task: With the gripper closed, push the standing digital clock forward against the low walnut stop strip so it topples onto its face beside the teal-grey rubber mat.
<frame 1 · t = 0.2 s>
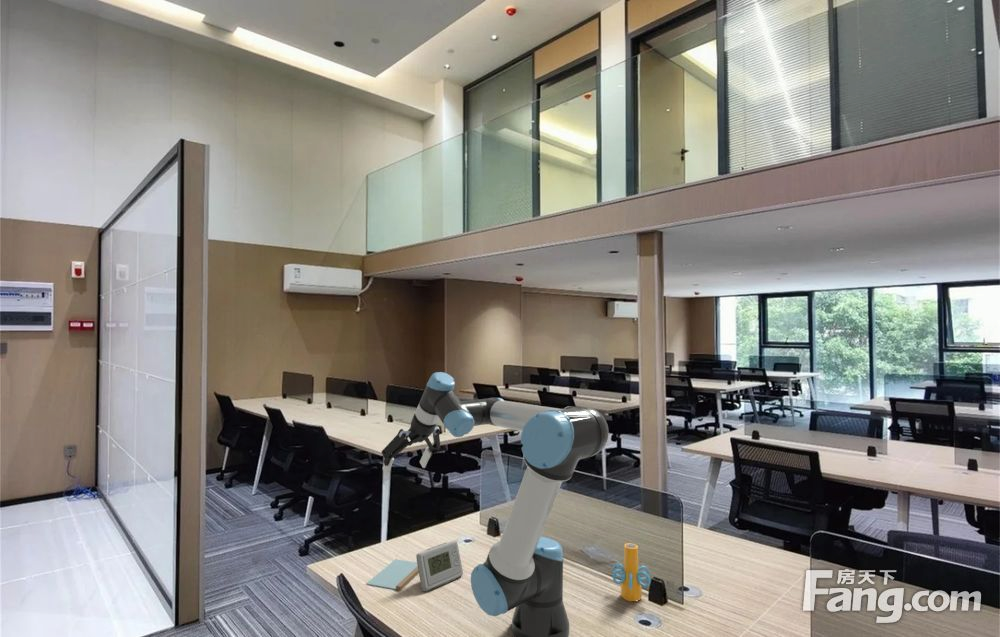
hand: (404, 468, 156), 35 cm above the table, tool tilted 35°, fingers open, 13 cm apart
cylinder: (631, 597, 146), on the table
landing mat: (397, 574, 159), on the table
digital clock: (439, 582, 154), on the table
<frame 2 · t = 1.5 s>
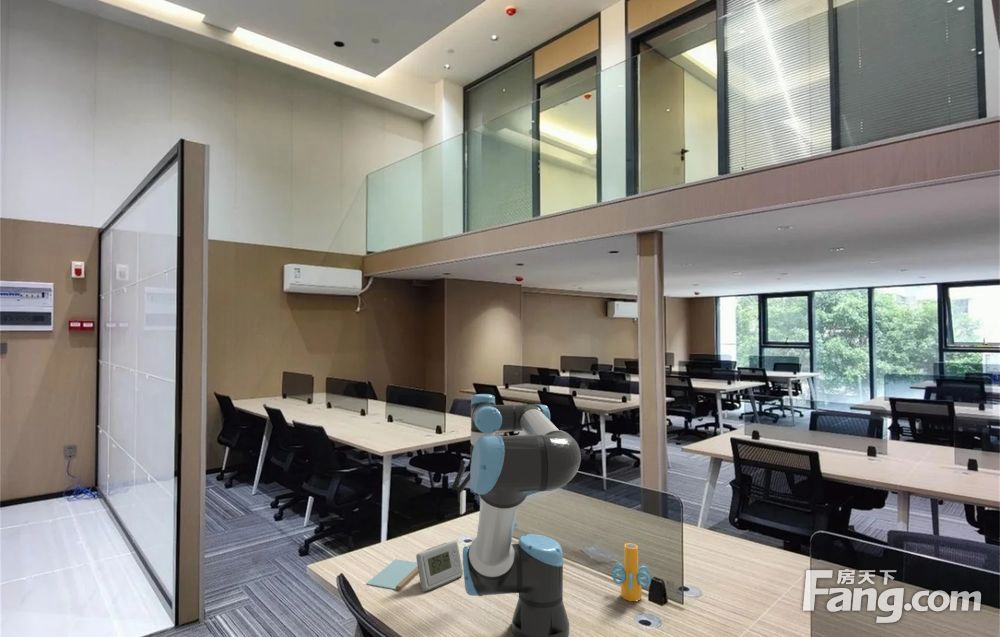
hand: (481, 515, 151), 22 cm above the table, tool pointing down, fingers open, 12 cm apart
nothing on the table moved.
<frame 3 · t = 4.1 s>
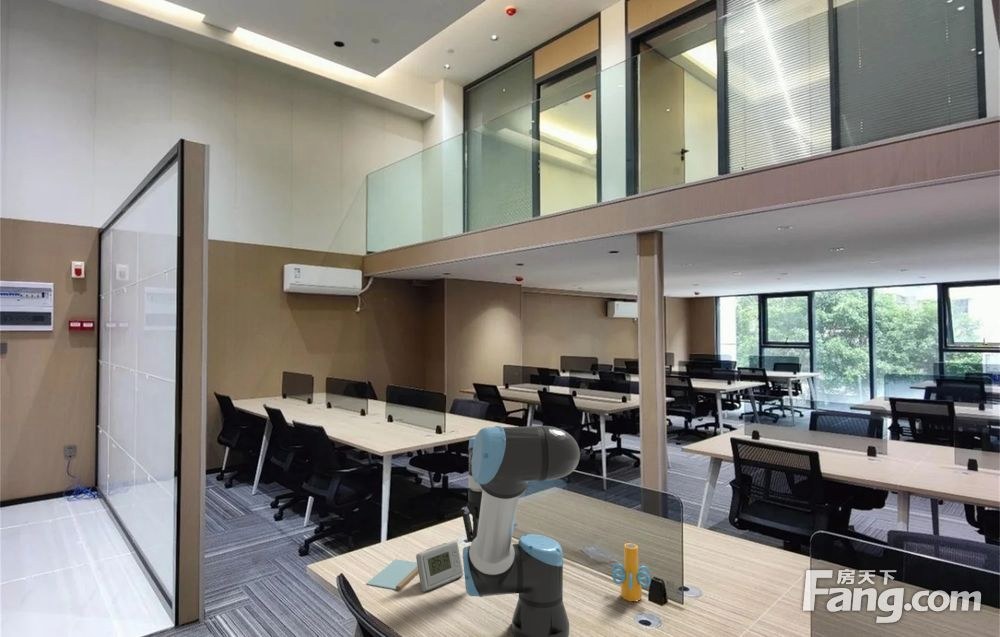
hand: (479, 565, 151), 7 cm above the table, tool pointing down, fingers closed
nothing on the table moved.
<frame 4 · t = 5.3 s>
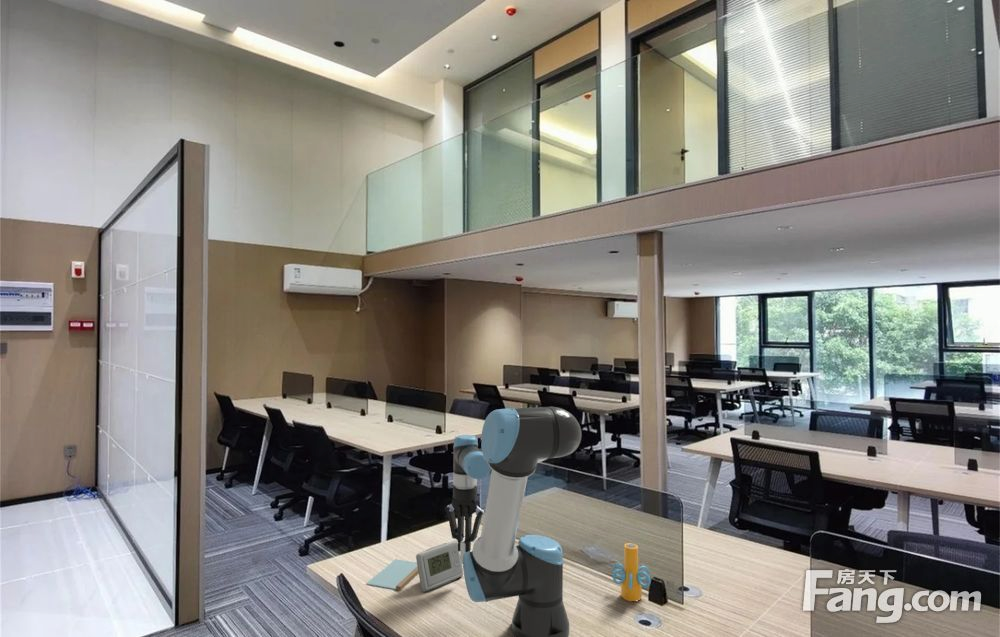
hand: (464, 562, 153), 7 cm above the table, tool pointing down, fingers closed
nothing on the table moved.
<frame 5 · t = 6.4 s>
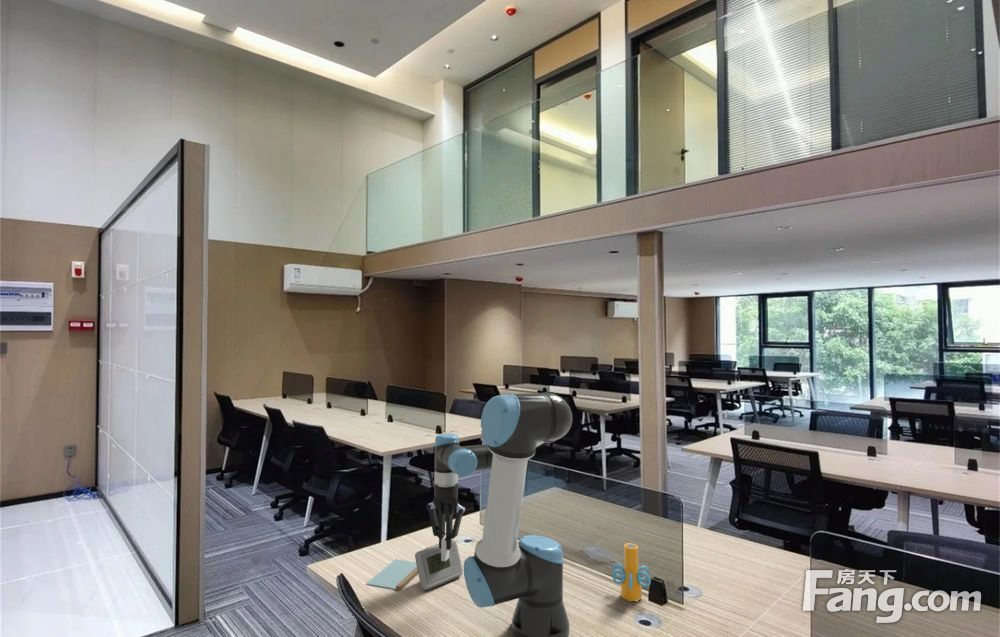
hand: (445, 559, 154), 7 cm above the table, tool pointing down, fingers closed
digital clock: (439, 582, 154), on the table, touching gripper
everything else where it was.
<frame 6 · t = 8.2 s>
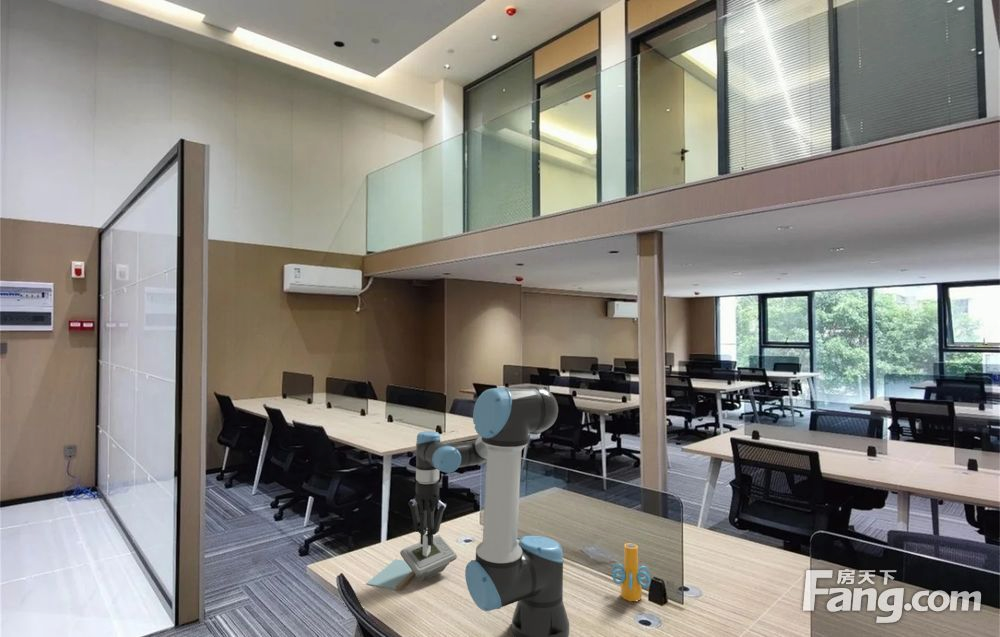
hand: (426, 554, 157), 7 cm above the table, tool pointing down, fingers closed
digital clock: (436, 570, 155), point 3 cm above the table, touching gripper
everything else where it was.
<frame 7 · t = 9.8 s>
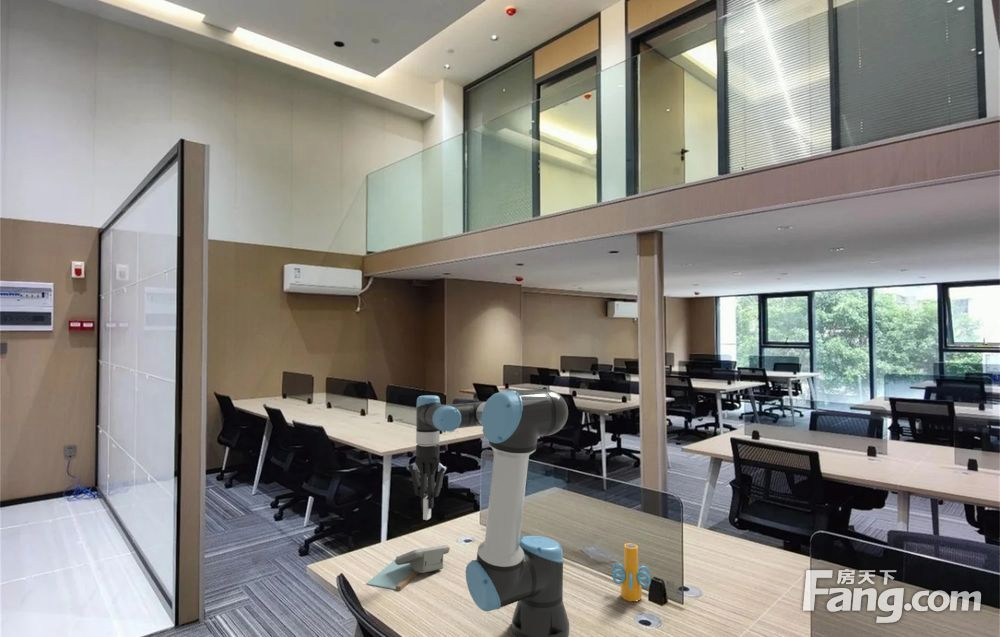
hand: (427, 518, 157), 19 cm above the table, tool pointing down, fingers closed
digital clock: (434, 557, 160), point 5 cm above the table, touching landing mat
everything else where it was.
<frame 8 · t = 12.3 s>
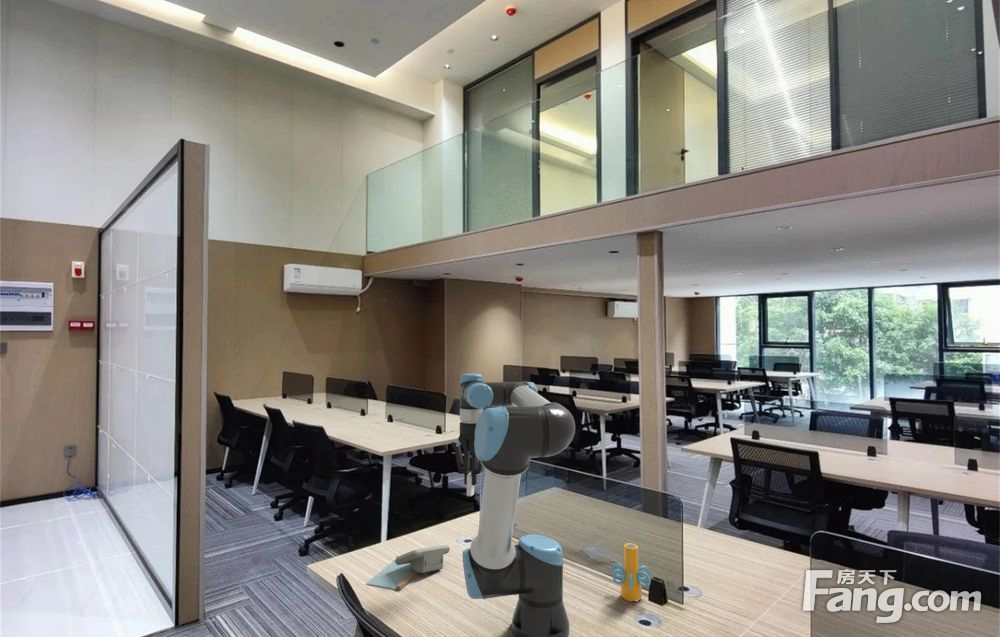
hand: (470, 494, 158), 26 cm above the table, tool pointing down, fingers closed
nothing on the table moved.
at the end: digital clock tilted 98°; digital clock inside the target area (5.7 cm from its centre), point 5.4 cm above the table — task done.
